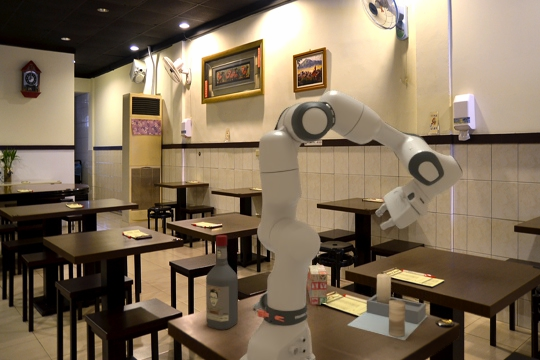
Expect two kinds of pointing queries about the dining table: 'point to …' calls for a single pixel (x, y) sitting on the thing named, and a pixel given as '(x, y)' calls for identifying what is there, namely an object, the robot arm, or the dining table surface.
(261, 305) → the ceramic mug
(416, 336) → the dining table surface
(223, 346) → the dining table surface
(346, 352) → the dining table surface
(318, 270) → the stack of blocks
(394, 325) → the beech post
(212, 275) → the liquor
